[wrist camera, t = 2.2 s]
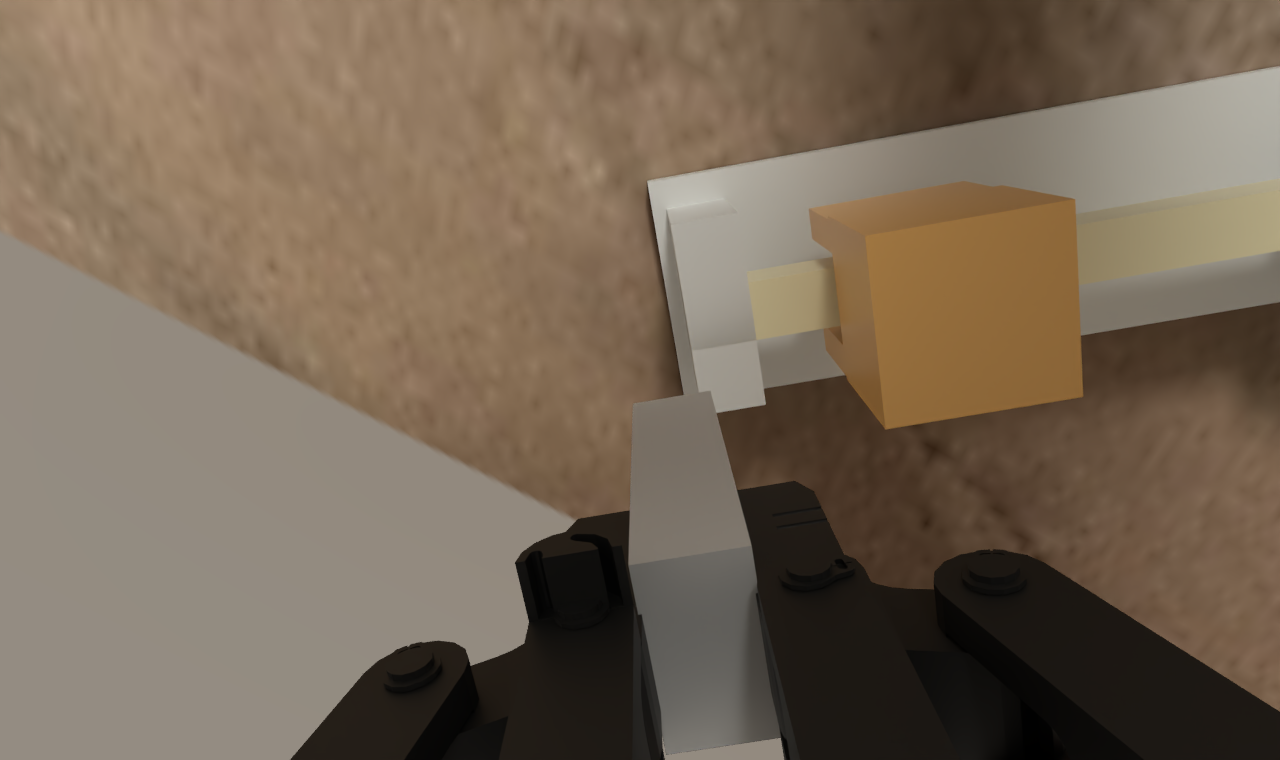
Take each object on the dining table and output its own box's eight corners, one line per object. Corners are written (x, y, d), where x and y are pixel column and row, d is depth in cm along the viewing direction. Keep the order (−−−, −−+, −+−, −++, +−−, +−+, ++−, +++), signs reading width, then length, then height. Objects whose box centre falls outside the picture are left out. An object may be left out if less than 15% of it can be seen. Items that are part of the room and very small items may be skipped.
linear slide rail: (647, 180, 31) (648, 197, 25) (1504, 25, 30) (1746, -1, 23) (684, 395, 34) (693, 462, 27) (1484, 260, 32) (1699, 297, 25)
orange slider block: (808, 205, 29) (864, 235, 21) (963, 177, 29) (1075, 198, 21) (826, 353, 30) (885, 429, 23) (974, 328, 30) (1083, 397, 23)
